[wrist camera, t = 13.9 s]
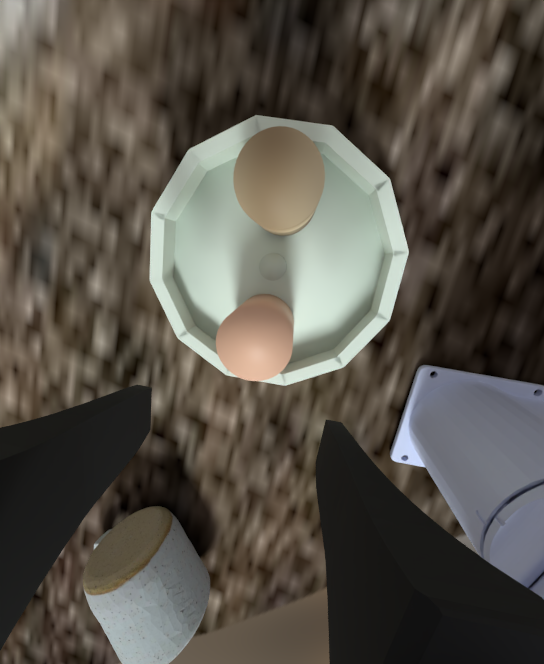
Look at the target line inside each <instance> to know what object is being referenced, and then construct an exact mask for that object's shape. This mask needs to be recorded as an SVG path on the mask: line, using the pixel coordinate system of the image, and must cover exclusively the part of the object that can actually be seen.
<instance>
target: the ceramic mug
mask: <svg viewBox="0 0 544 664" xmlns="http://www.w3.org/2000/svg"><path fill="white" fill-rule="evenodd" d="M83 586H84V591H85V594H86V598H87V601H88V603H89V606H90V608H91V610H92V612H93V614H94V615H95V617H96V618H97V619H98V621H99V622H100V624H101V626H102V628H103V629H104V631H105V633H106V635H107V637H108V639H109V640H110V642H111V644H112V646H113V648H114V650H115V652H116V654H117V655H118V657H119V659H120V661H121V663H122V664H168V663H170V662H171V661H172V660H173V659H174V658H175V657H176V656H177V655H178V654H179V653H180V652H181V651H182V650H183V648H184V647H185V646H186V645H187V643H188V642H189V641H190V639H191V638H192V637H193V635H194V633H195V632H196V630H197V628H198V626H199V624H200V622H201V620H202V618H203V615H204V613H205V610H206V607H207V604H208V600H209V593H210V578H209V574H208V571H207V569H206V567H205V566H204V564H203V562H202V561H201V559H200V557H199V556H198V554H197V552H196V550H195V549H194V547H193V545H192V543H191V542H190V540H189V539H188V537H187V535H186V533H185V532H184V530H183V528H182V526H181V525H180V523H179V521H178V520H177V518H176V517H175V516H174V515H173V514H172V513H171V512H170V511H169V510H168V509H167V508H165V507H161V506H152V507H147V508H144V509H142V510H139V511H137V512H135V513H133V514H131V515H130V516H128V517H127V518H125V519H124V520H123V521H121V522H120V523H119V524H117V525H116V526H115V527H114V528H113V529H109V530H108V531H106V532H105V533H104V534H103V535H102V536H101V537H100V538H99V539H98V540H97V541H96V542H95V544H94V551H93V553H92V554H91V556H90V558H89V560H88V563H87V565H86V567H85V570H84V574H83Z"/></svg>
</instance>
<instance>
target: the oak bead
mask: <svg viewBox="0 0 544 664" xmlns="http://www.w3.org/2000/svg"><path fill="white" fill-rule="evenodd" d="M233 182H234V190H235V194H236V197H237V200H238V202H239V204H240V206H241V207H242V209H243V210H244V212H245V213H246V214H247V215H248V216H249V217H250V218H251V219H252V220H253V221H255V222H256V223H257V224H258V225H260V226H261V227H262V228H263V229H265V230H266V231H268V232H269V233H272V234H274V235H278V236H288V235H292V234H295V233H297V232H299V231H301V230H302V229H303V228H304V227H306V226H307V224H308V223H309V222H310V220H311V219H312V217H313V215H314V213H315V210H316V208H317V205H318V203H319V200H320V198H321V195H322V193H323V189H324V183H325V169H324V163H323V159H322V157H321V154H320V152H319V150H318V148H317V147H316V145H315V144H314V142H313V141H312V140H311V139H310V138H309V137H308V136H306V135H305V134H304V133H302V132H300V131H299V130H296V129H294V128H290V127H285V126H276V127H270V128H267V129H264V130H262V131H260V132H258V133H257V134H255V135H254V136H253V137H251V138H250V139H249V140H248V141H247V142H246V144H245V145H244V146H243V148H242V150H241V151H240V153H239V155H238V158H237V160H236V164H235V168H234V176H233Z"/></svg>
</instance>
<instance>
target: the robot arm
mask: <svg viewBox="0 0 544 664" xmlns="http://www.w3.org/2000/svg"><path fill="white" fill-rule="evenodd" d="M433 371H435V374H434V375H433V376H430V373H431V372H433ZM535 390H537V392H536V393H534V392H535ZM151 392H152V388H151V387H146V386H141V385H135V386H132V387H128V388H125V389H123V390H120V391H117V392H114V393H112V394H109V395H106V396H103V397H101V398H98V399H95V400H93V401H90V402H87V403H84V404H81V405H78V406H75V407H72V408H69V409H66V410H63V411H61V412H58V413H55V414H51V415H48V416H45V417H41V418H38V419H34V420H30V421H26V422H23V423H19V424H15V425H11V426H6V427H2V428H0V650H1V648H2V647H3V645H4V643H5V642H6V640H7V638H8V636H9V635H10V633H11V631H12V630H13V628H14V626H15V624H16V623H17V621H18V620H19V618H20V616H21V615H22V613H23V611H24V610H25V608H26V607H27V605H28V603H29V602H30V600H31V598H32V597H33V595H34V594H35V592H36V590H37V589H38V587H39V585H40V584H41V582H42V581H43V579H44V577H45V576H46V574H47V573H48V571H49V570H50V568H51V567H52V565H53V564H54V562H55V561H56V559H57V557H58V556H59V554H60V553H61V551H62V550H63V548H64V547H65V545H66V544H67V542H68V541H69V539H70V538H71V536H72V535H73V533H74V532H75V530H76V529H77V528H78V526H79V525H80V523H81V522H82V520H83V519H84V517H85V516H86V515H87V513H88V512H89V511H90V509H91V508H92V507H93V505H94V504H95V503H96V501H97V500H98V499H99V498H100V497H101V495H102V494H103V493H104V492H105V490H106V489H107V488H108V487H109V486H110V484H111V483H112V482H113V481H114V480H115V478H116V477H117V476H118V475H119V473H120V472H121V471H122V470H123V469H124V467H125V466H126V465H127V464H128V462H129V461H130V460H131V459H132V457H133V456H134V455H135V454H136V452H137V451H138V449H139V448H140V446H141V445H142V443H143V441H144V440H145V438H146V436H147V435H148V433H149V431H150V423H151ZM403 455H406V456H405V457H402V456H403ZM390 456H391V458H392V460H393V461H395V462H400V463H405V464H411V465H416V466H421V467H426V469H427V470H428V472H429V473H430V475H431V477H432V478H433V480H434V482H435V483H436V485H437V487H438V488H439V490H440V492H441V493H442V495H443V497H444V498H445V500H446V501H447V503H448V505H449V506H450V508H451V510H452V511H453V513H454V515H455V516H456V518H457V520H458V521H459V523H460V524H461V526H462V528H463V529H464V531H465V533H466V534H467V536H468V538H469V539H470V541H471V543H472V544H473V546H474V547H475V549H476V551H477V552H478V554H479V555H478V554H476V553H475V552H473V551H472V550H471V549H469V548H468V547H466V546H465V545H464V544H462V543H461V542H460V541H458V540H457V539H456V538H454V537H453V536H452V535H451V534H449V533H448V532H447V531H445V530H444V529H443V528H442V527H440V526H439V525H438V524H437V523H436V522H434V521H433V520H432V519H431V518H430V517H428V516H427V515H426V514H425V513H424V512H422V511H421V510H420V509H419V508H418V507H417V506H416V505H414V504H413V503H412V502H411V501H410V500H409V499H408V498H407V497H406V496H405V495H404V494H403V493H402V492H401V491H400V490H399V489H398V488H397V487H396V486H395V485H394V484H393V483H392V482H391V481H390V480H389V479H388V478H387V477H386V476H385V475H384V474H383V473H382V472H381V471H380V469H379V468H378V467H377V466H376V465H375V464H374V463H373V462H372V460H371V459H370V458H369V457H368V456H367V454H366V453H365V452H364V451H363V450H362V448H361V447H360V446H359V445H358V443H357V442H356V441H355V439H354V438H353V437H352V435H351V434H350V433H349V432H348V430H347V429H346V428H345V426H344V425H343V424H342V423H341V422H336V421H331V420H326V422H325V426H324V430H323V434H322V438H321V443H320V447H319V451H318V455H317V459H316V489H317V497H318V505H319V512H320V519H321V527H322V534H323V542H324V549H325V559H326V574H327V595H328V619H329V620H328V622H329V653H330V664H544V385H540V384H534V383H528V382H522V381H517V380H511V379H505V378H499V377H493V376H488V375H482V374H476V373H470V372H464V371H459V370H453V369H447V368H441V367H435V366H430V365H422V366H420V367H419V368H418V370H417V372H416V375H415V378H414V381H413V384H412V387H411V390H410V393H409V396H408V399H407V403H406V406H405V409H404V412H403V415H402V418H401V421H400V424H399V427H398V430H397V433H396V436H395V439H394V442H393V445H392V448H391V451H390Z"/></svg>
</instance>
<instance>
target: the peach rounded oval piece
mask: <svg viewBox="0 0 544 664" xmlns="http://www.w3.org/2000/svg"><path fill="white" fill-rule="evenodd" d="M293 332H294V318H293V314H292V312H291V309H290V308H289V306H288V305H287V304H286V303H285V302H284V301H283V300H282V299H280V298H278V297H277V296H274V295H270V294H259V295H255V296H252V297H250V298H249V299H247V300H246V301H245V302H244V303H243V304H241V305H240V306H239V307H238V308H237V309H236V310H234V311H233V312H232V313H231V314H230V315H229V316H227V317H226V318H225V319H224V321H223V322H222V323H221V325H220V327H219V329H218V332H217V335H216V349H217V353H218V356H219V358H220V360H221V362H222V363H223V365H224V366H225V367H226V368H227V369H228V370H229V371H230V372H231V373H232V374H234V375H235V376H237V377H239V378H242V379H245V380H249V381H263V380H267V379H270V378H272V377H274V376H276V375H278V374H279V373H280V372H281V371H282V370H283V369H284V368H285V367H286V366H287V364H288V362H289V360H290V358H291V355H292V349H293Z"/></svg>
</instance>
